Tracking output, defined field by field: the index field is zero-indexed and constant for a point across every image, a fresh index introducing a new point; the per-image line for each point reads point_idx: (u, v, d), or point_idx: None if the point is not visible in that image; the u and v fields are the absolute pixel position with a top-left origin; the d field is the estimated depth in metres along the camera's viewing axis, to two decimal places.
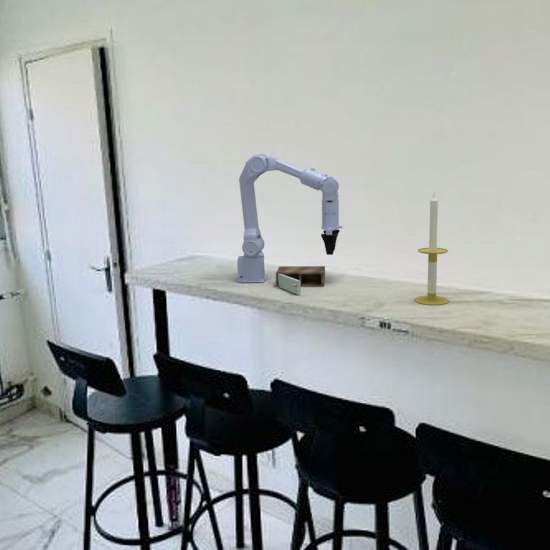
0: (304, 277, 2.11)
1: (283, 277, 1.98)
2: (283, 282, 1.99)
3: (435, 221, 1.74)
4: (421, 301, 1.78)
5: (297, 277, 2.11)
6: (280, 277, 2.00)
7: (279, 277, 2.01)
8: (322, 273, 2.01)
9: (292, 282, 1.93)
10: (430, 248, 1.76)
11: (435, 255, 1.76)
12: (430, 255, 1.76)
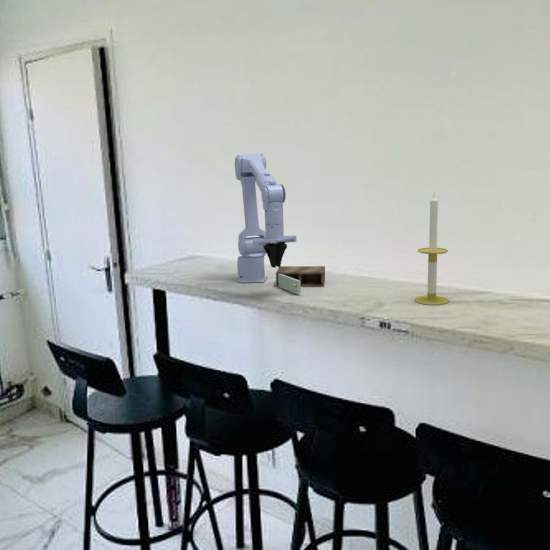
0: (304, 277, 2.11)
1: (283, 277, 1.98)
2: (283, 282, 1.99)
3: (435, 221, 1.74)
4: (421, 301, 1.78)
5: (297, 277, 2.11)
6: (280, 277, 2.00)
7: (279, 277, 2.01)
8: (322, 273, 2.01)
9: (292, 282, 1.93)
10: (430, 248, 1.76)
11: (435, 255, 1.76)
12: (430, 255, 1.76)
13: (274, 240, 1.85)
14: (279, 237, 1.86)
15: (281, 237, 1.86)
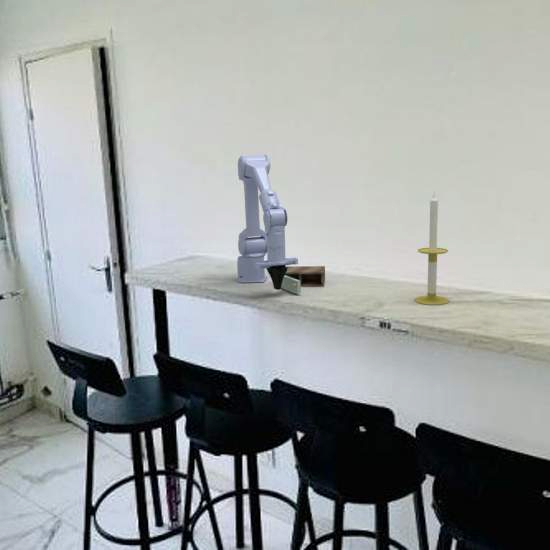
0: (304, 277, 2.11)
1: None
2: (283, 282, 1.99)
3: (435, 221, 1.74)
4: (421, 301, 1.78)
5: (297, 277, 2.11)
6: None
7: None
8: (322, 273, 2.01)
9: (292, 282, 1.93)
10: (430, 248, 1.76)
11: (435, 255, 1.76)
12: (430, 255, 1.76)
13: (276, 263, 1.87)
14: (281, 260, 1.87)
15: (283, 260, 1.88)
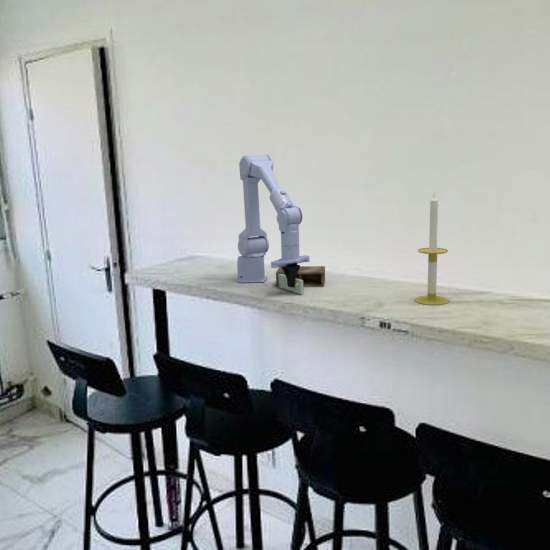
0: (304, 277, 2.11)
1: (284, 277, 1.98)
2: (284, 282, 1.99)
3: (435, 221, 1.74)
4: (421, 301, 1.78)
5: (297, 277, 2.11)
6: (280, 277, 2.00)
7: (279, 277, 2.01)
8: (322, 273, 2.01)
9: None
10: (430, 248, 1.76)
11: (435, 255, 1.76)
12: (430, 255, 1.76)
13: (292, 261, 1.89)
14: (296, 258, 1.90)
15: (298, 258, 1.91)
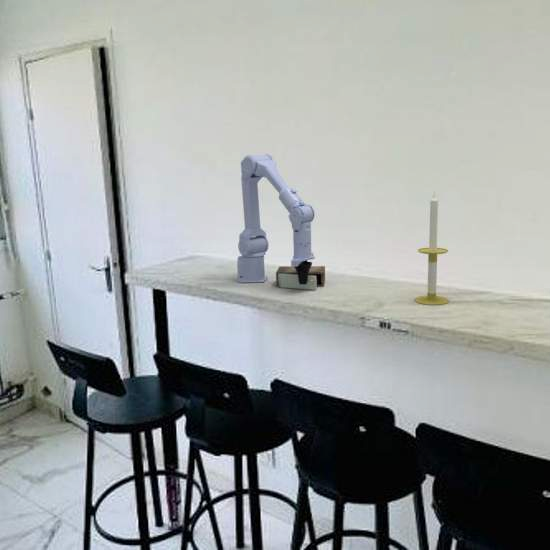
0: None
1: (289, 276, 2.00)
2: (288, 281, 2.00)
3: (435, 221, 1.74)
4: (421, 301, 1.78)
5: None
6: (283, 277, 2.01)
7: (281, 277, 2.01)
8: (322, 273, 2.01)
9: None
10: (430, 248, 1.76)
11: (435, 255, 1.76)
12: (430, 255, 1.76)
13: (308, 258, 1.93)
14: (310, 255, 1.94)
15: (311, 255, 1.95)
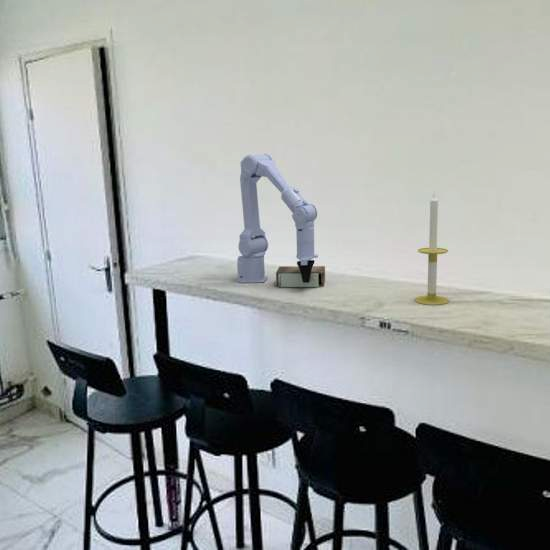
0: None
1: (290, 275, 2.01)
2: (289, 281, 2.01)
3: (435, 221, 1.74)
4: (421, 301, 1.78)
5: None
6: (284, 276, 2.01)
7: (281, 277, 2.01)
8: (322, 273, 2.01)
9: None
10: (430, 248, 1.76)
11: (435, 255, 1.76)
12: (430, 255, 1.76)
13: (313, 256, 1.96)
14: None
15: None
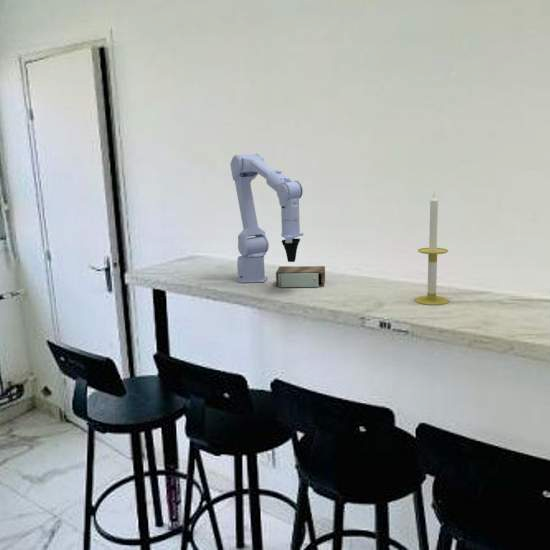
0: None
1: (290, 275, 2.01)
2: (289, 281, 2.01)
3: (435, 221, 1.74)
4: (421, 301, 1.78)
5: None
6: (284, 276, 2.01)
7: (281, 277, 2.01)
8: (322, 273, 2.01)
9: (308, 277, 2.00)
10: (430, 248, 1.76)
11: (435, 255, 1.76)
12: (430, 255, 1.76)
13: (298, 235, 1.91)
14: (299, 231, 1.93)
15: None
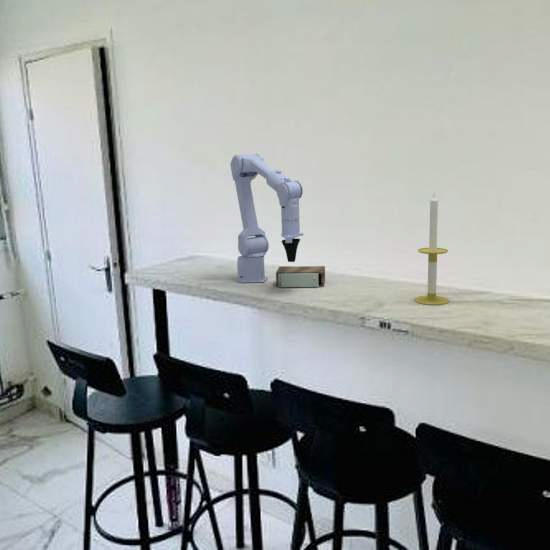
0: None
1: (290, 275, 2.01)
2: (289, 281, 2.01)
3: (435, 221, 1.74)
4: (421, 301, 1.78)
5: None
6: (284, 276, 2.01)
7: (281, 277, 2.01)
8: (322, 273, 2.01)
9: (308, 277, 2.00)
10: (430, 248, 1.76)
11: (435, 255, 1.76)
12: (430, 255, 1.76)
13: (298, 235, 1.91)
14: (299, 231, 1.93)
15: None
